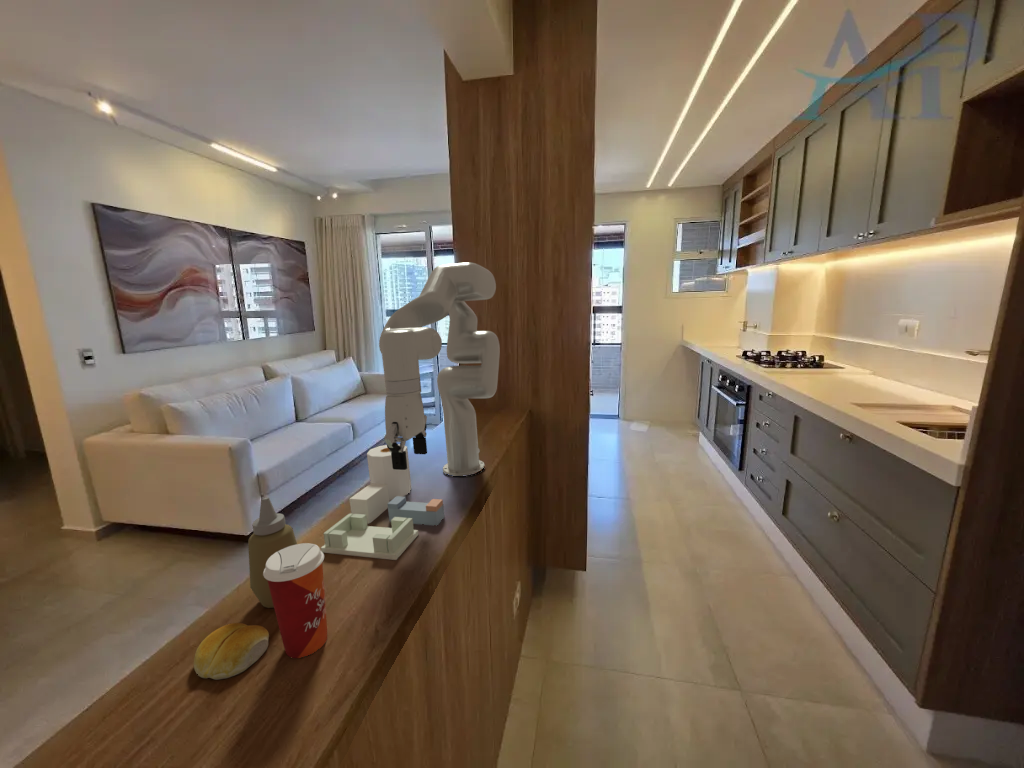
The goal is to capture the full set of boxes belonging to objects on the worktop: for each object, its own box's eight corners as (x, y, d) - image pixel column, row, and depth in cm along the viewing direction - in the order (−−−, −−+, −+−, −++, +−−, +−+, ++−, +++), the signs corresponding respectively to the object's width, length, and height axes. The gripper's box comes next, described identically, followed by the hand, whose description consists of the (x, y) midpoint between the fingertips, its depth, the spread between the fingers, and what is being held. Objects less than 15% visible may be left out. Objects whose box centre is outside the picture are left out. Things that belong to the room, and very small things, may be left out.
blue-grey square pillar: (398, 514, 100) (396, 496, 99) (444, 518, 97) (442, 499, 96) (389, 522, 96) (387, 503, 95) (437, 526, 93) (435, 507, 92)
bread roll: (232, 631, 64) (228, 608, 63) (280, 640, 62) (276, 616, 61) (178, 677, 56) (172, 651, 56) (230, 688, 54) (225, 662, 53)
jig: (349, 528, 94) (347, 512, 93) (418, 534, 90) (416, 517, 89) (321, 552, 85) (318, 534, 84) (396, 560, 80) (394, 541, 80)
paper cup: (331, 656, 58) (318, 564, 56) (270, 671, 56) (254, 577, 54) (338, 618, 66) (326, 536, 63) (284, 630, 63) (270, 546, 61)
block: (374, 505, 105) (371, 482, 104) (390, 506, 104) (387, 483, 103) (352, 522, 97) (349, 498, 96) (369, 524, 96) (366, 499, 95)
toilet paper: (387, 483, 119) (382, 442, 117) (418, 486, 115) (414, 444, 113) (363, 498, 109) (358, 454, 107) (397, 502, 106) (392, 457, 104)
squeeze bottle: (284, 616, 67) (267, 511, 64) (242, 611, 68) (223, 509, 65) (317, 583, 74) (303, 489, 71) (278, 580, 76) (263, 488, 73)
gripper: (407, 380, 100) (413, 448, 103) (365, 394, 84) (374, 475, 87) (435, 380, 98) (441, 449, 101) (399, 394, 82) (407, 476, 85)
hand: (410, 461), depth 94 cm, fingers open, 9 cm apart
